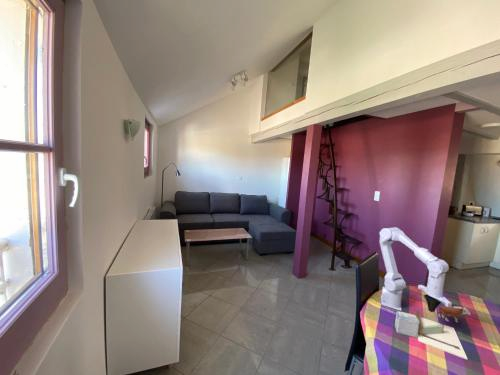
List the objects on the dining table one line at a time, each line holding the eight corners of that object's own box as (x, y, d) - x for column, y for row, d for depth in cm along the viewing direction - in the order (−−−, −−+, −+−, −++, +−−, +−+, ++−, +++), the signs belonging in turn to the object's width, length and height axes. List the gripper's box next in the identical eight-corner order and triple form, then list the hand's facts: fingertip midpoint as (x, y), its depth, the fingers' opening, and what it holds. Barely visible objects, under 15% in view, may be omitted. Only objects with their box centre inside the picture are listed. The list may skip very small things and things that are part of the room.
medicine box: (413, 331, 101) (415, 314, 100) (417, 338, 97) (419, 321, 96) (394, 326, 103) (396, 310, 102) (397, 333, 99) (399, 316, 98)
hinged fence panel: (419, 335, 98) (420, 327, 97) (416, 332, 99) (417, 325, 99) (444, 333, 100) (445, 326, 99) (440, 330, 101) (441, 323, 101)
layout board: (418, 341, 95) (418, 340, 95) (412, 315, 112) (413, 314, 112) (467, 359, 87) (467, 358, 87) (453, 329, 104) (453, 327, 103)
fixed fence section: (417, 331, 100) (418, 324, 100) (414, 317, 110) (415, 309, 110) (421, 333, 99) (422, 325, 99) (417, 318, 109) (418, 311, 109)
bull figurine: (470, 325, 106) (473, 310, 105) (439, 320, 109) (442, 306, 108) (463, 319, 111) (466, 305, 110) (434, 314, 113) (436, 300, 112)
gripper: (459, 293, 94) (454, 321, 96) (427, 276, 109) (424, 301, 110) (445, 294, 93) (441, 322, 95) (415, 276, 108) (412, 301, 109)
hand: (431, 311), depth 103 cm, fingers closed
